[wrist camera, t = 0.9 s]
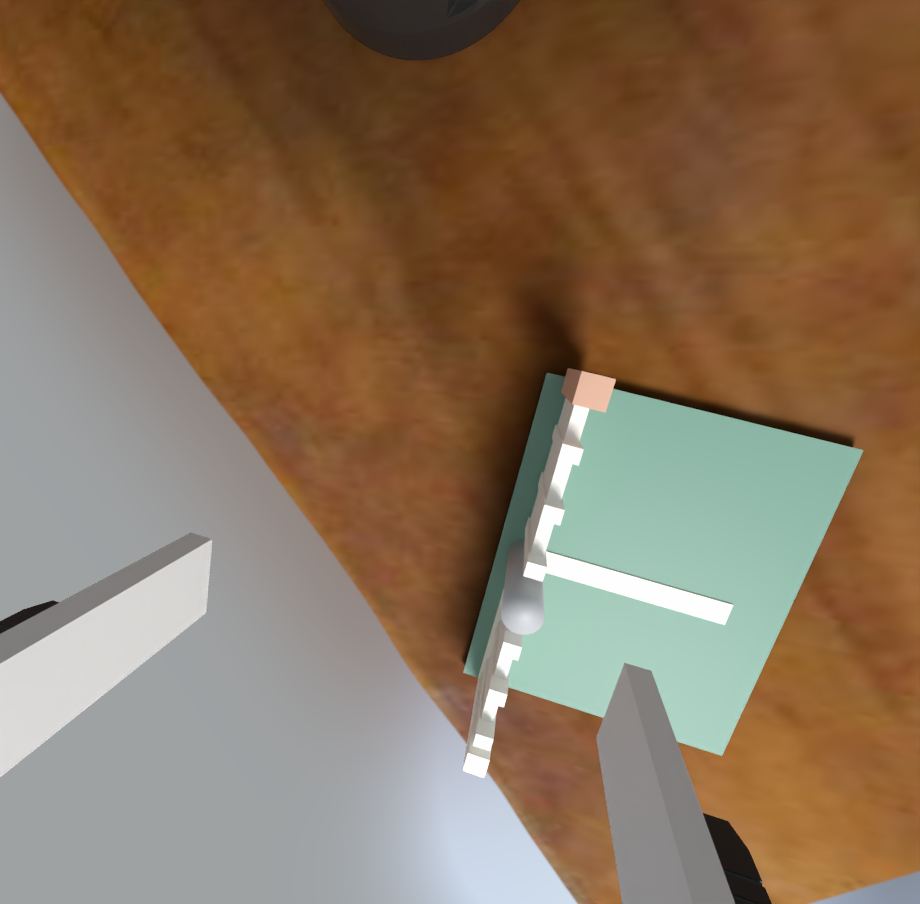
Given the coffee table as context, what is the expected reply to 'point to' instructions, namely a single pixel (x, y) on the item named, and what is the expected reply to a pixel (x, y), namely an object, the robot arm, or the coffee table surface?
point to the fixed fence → (503, 656)
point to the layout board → (666, 556)
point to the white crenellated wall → (562, 463)
